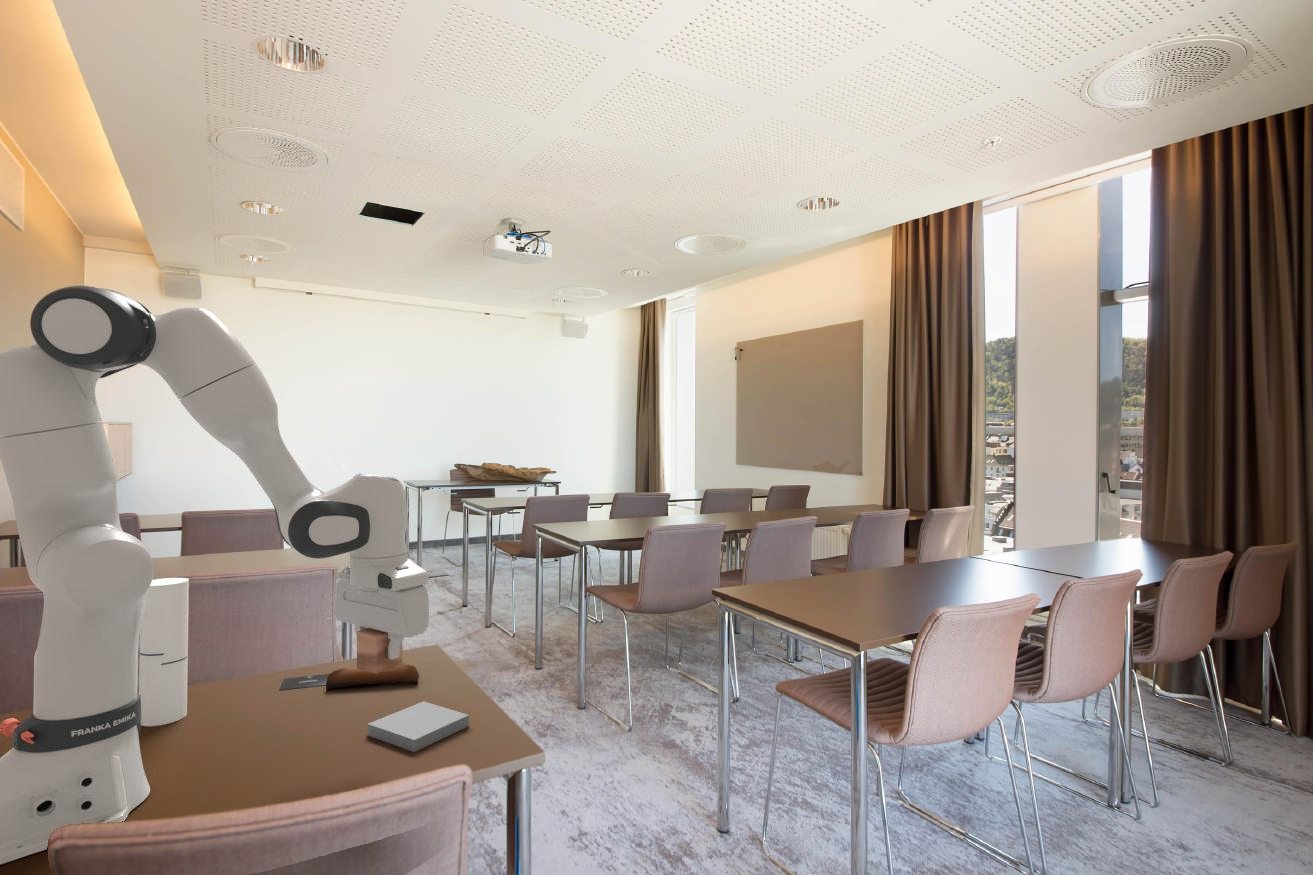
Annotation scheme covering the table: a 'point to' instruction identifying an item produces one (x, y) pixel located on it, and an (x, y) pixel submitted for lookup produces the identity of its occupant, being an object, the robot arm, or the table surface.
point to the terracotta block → (374, 651)
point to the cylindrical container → (164, 652)
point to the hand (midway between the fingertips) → (379, 654)
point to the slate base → (418, 726)
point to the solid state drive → (304, 682)
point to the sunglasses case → (371, 676)
